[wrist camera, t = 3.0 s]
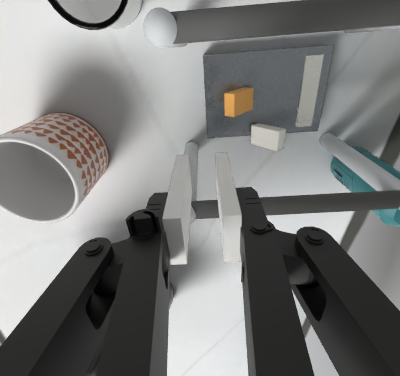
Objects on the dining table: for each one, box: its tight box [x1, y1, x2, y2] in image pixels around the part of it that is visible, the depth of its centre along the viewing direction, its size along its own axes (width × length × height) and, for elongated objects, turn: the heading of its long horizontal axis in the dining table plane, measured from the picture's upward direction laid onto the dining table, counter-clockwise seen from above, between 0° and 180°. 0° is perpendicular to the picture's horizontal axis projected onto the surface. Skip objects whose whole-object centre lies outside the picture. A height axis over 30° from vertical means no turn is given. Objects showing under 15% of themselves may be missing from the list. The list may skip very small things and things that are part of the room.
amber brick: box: [224, 87, 254, 117], centre depth 34 cm, size 2×3×6 cm
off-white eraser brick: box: [250, 123, 286, 151], centre depth 37 cm, size 2×3×6 cm
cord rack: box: [144, 0, 400, 223], centre depth 29 cm, size 26×19×20 cm
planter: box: [0, 113, 108, 223], centre depth 38 cm, size 14×14×13 cm
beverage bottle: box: [331, 147, 400, 226], centre depth 35 cm, size 6×7×20 cm
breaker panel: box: [203, 45, 334, 138], centre depth 37 cm, size 18×12×3 cm, turn 94°
